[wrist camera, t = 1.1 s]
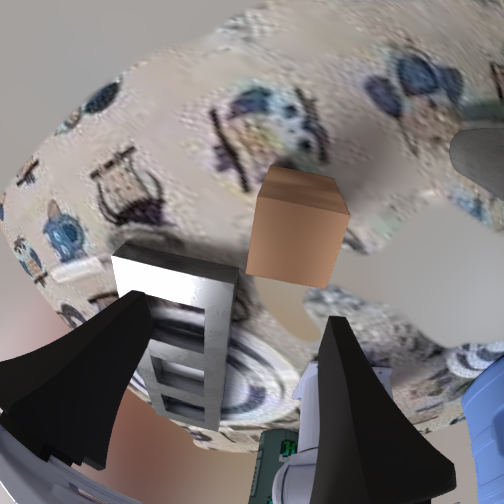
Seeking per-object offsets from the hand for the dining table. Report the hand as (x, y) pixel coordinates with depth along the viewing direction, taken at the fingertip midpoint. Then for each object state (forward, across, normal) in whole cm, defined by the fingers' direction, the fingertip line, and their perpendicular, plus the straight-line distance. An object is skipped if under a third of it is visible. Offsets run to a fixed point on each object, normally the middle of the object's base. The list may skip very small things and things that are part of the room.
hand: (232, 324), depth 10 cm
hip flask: (+10, -20, -9) cm, 24 cm away
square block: (+10, -2, -2) cm, 10 cm away
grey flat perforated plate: (+10, +8, +18) cm, 22 cm away
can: (+10, -5, +37) cm, 38 cm away
